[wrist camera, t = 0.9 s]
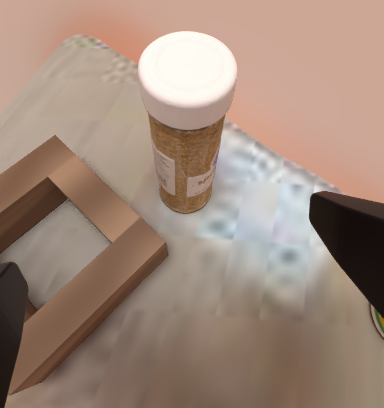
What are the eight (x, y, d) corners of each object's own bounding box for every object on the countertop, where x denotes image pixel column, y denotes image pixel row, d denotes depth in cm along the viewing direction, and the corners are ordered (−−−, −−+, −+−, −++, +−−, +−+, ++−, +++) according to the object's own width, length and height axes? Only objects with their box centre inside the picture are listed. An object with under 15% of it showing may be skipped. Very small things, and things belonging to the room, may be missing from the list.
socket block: (168, 254, 23) (165, 241, 20) (41, 382, 20) (9, 395, 16) (73, 161, 26) (55, 134, 22) (-53, 258, 23) (-99, 246, 19)
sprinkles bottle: (213, 213, 25) (244, 103, 12) (158, 215, 25) (134, 104, 12) (209, 165, 26) (234, 26, 14) (158, 166, 26) (137, 25, 14)
